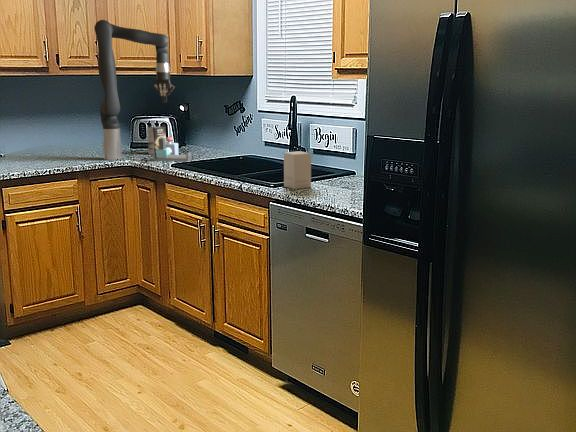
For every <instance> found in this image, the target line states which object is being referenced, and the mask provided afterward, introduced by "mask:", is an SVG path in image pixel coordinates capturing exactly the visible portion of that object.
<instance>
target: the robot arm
mask: <svg viewBox="0 0 576 432" xmlns="http://www.w3.org/2000/svg"><path fill="white" fill-rule="evenodd" d="M93 29H94V32H95V37H96V42H97V65H98V66H97V67H98V68H97V69H98V77H99V79H100V83H101V86H102V89H103V91H104V99H103V101H101V103H100V107H99V110H100V111H99V113H100V121H101V125H102V134H103V142H102V153H103V154H102V155H103V160H107V161H108V160H109V161H112V160H113V161H114V160H115V161H116V160H117V159H118V160H121V159H122V158H123V155H122V140H121V125H120V122H119V120H118V115H119V114H120V112H121V103H120V99H119V93H118V80H117V68H116V67H117V66H116V59H115V54H114V50H113V39H120V40H125V41H130V42H132V43H133V42H134V43H138V44H143V45H150V46H154V47H155V53H156V54H155V57H156V58H155V59H156V65H155V74H156V82H155V84H154V85H152V89H153V90H154V91H155V92H156V94H157V95H158V96H160V99H161V103H163V104H165V103H167V102H168V96H170V95H171V94H172V92H173V91H174V89H175V88H176V86H175V85H173V84H172V82H171V69H170V68H171V67H170V54H169V43H170V40H169V37H168V36H167V35H166V34H163V33H157V32H150V31H146V30H142V29H137V28H130V27H129V28H128V27H125V26H118V25H116V24H113V23H110V22H109V21H108V20H105V19H100V20H98V21H97V22H96V23H95V25H94V28H93Z"/></svg>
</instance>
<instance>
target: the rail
mask: <svg viewBox="0 0 576 432" xmlns="http://www.w3.org/2000/svg"><path fill="white" fill-rule="evenodd" d="M152 158H153V162H190V161H192V151H188V152H186V153H185V154H179V155H167V158H160V157H156V152H154V153H153V155H152Z"/></svg>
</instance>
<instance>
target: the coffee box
mask: <svg viewBox="0 0 576 432" xmlns="http://www.w3.org/2000/svg"><path fill="white" fill-rule="evenodd" d="M166 133H167V131H166V126H149V127H147V147H148V148H147V149H148V152H147V153H148V155H151V156H153V153H154V152H156V149H159V138H165V142H166V143H167V139H166V138H167V136H166V135H167V134H166Z"/></svg>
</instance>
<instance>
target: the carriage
mask: <svg viewBox="0 0 576 432" xmlns="http://www.w3.org/2000/svg"><path fill="white" fill-rule="evenodd" d="M166 143H167V141H166V142H165V138H159V149H156V157H160V158H167V155H169V149H166Z"/></svg>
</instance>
